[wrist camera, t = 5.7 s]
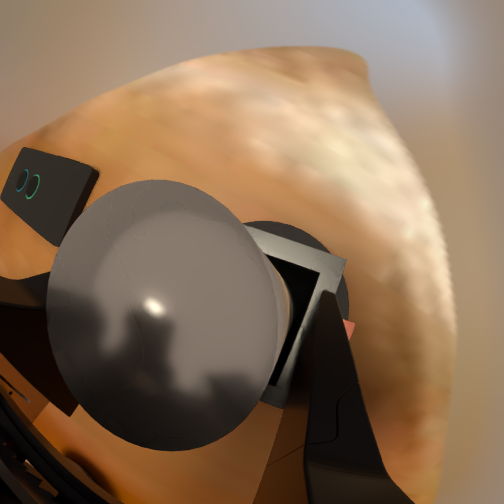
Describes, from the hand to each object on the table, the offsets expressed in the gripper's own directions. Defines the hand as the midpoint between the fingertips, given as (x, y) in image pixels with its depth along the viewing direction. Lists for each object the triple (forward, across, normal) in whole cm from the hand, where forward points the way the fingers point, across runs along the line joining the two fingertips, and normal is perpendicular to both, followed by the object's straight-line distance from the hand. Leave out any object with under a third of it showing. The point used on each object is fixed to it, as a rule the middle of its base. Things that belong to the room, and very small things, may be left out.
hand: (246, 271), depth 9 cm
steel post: (+3, 0, +5) cm, 7 cm away
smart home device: (+6, +28, +6) cm, 29 cm away
